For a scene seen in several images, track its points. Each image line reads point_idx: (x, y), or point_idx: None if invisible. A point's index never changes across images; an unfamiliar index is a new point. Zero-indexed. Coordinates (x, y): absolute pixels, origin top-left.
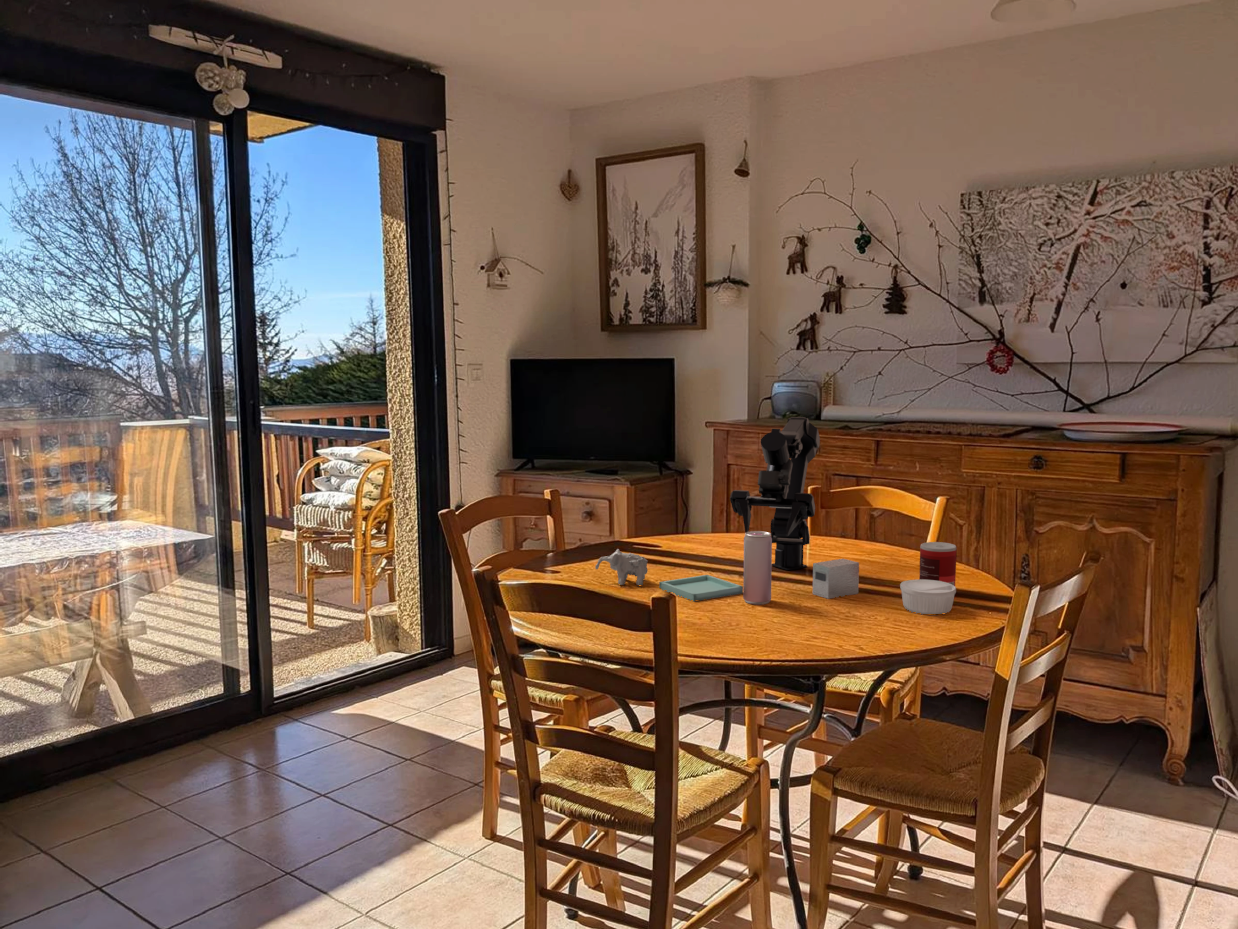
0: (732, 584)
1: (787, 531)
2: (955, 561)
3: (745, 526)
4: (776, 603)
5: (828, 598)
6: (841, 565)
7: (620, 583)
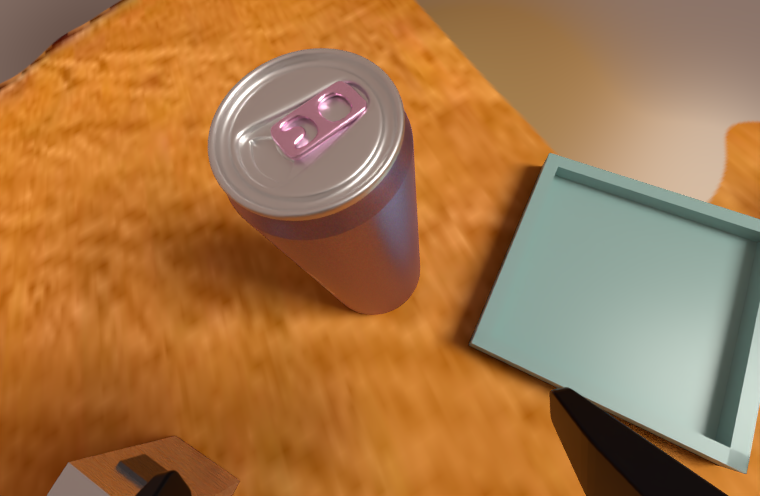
0: (525, 353)
1: (147, 488)
2: None
3: (598, 415)
4: (314, 285)
5: (173, 437)
6: None
7: None
